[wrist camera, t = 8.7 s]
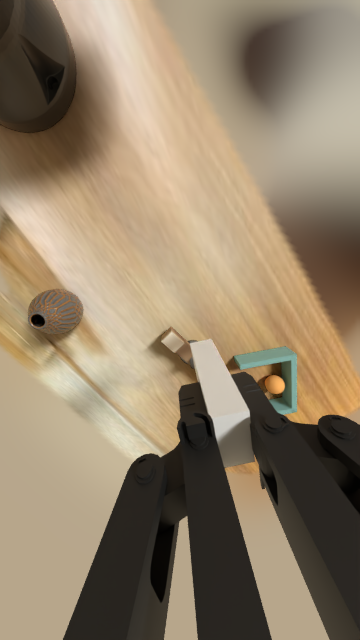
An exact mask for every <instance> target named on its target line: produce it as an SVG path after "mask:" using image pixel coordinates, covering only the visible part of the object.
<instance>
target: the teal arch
mask: <svg viewBox="0 0 360 640" xmlns="http://www.w3.org/2000/svg"><path fill="white" fill-rule="evenodd" d="M234 361H235V362H236V364H237V365H238V367H239V368H240V370H241V369H246V368H252V367H257V366H263V365H268V364H273V363H279V362H281V367H282V379H283V381H284V383H285V388H284V390H283V392H282V397H281V398H276V399H271V400H269V401H270V403H271V404H272V405H273V407H274V408H275V410H276V411H277V412H278V413H280V414H282V415H283V414H289V413H294V412H297V354H296V353H294V352H293V351H292V350H290V349H289V348H288V347H286V346H285V347H280V348H274V349H269V350H263V351H258V352H253V353H247V354H242V355H237V356H234Z"/></svg>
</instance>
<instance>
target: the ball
mask: <svg viewBox="0 0 360 640" xmlns="http://www.w3.org/2000/svg"><path fill="white" fill-rule="evenodd" d="M265 386H266V389H267V390H268V391H269V392H271V393H273V394H279V393H281V392H283V390H284V388H285V383H284V381H283V379H282V378H280V377H279V376H276V375H271V376H269V377H267V379H266V380H265Z"/></svg>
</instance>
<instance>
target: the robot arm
mask: <svg viewBox="0 0 360 640" xmlns="http://www.w3.org/2000/svg"><path fill="white" fill-rule="evenodd" d="M75 84H76V63H75V56H74V51H73V47H72V44H71V41H70V38H69V35H68V32H67V30H66V28H65V26H64V23H63V21H62V19H61V17H60V14H59V12H58V10H57V8H56V6H55V4H54V2H53V0H0V124H1V125H3V126H5V127H7V128H9V129H12V130H15V131H20V132H38V131H42V130H45V129H47V128H49V127H51V126H53V125H54V124H56V123H57V122H58V121H59V120H60V119H61V118H62V117H63V115H64V114H65V113H66V111H67V110H68V108H69V106H70V104H71V101H72V98H73V95H74V91H75ZM190 347H191V352H192V356H193V361H194V366H195V371H196V376H197V380H198V382H197V383H192V384H188V385H183V386H181V388H180V391H179V404H180V415H181V418H180V420H179V421H178V425H177V430H178V434H179V438H180V442H179V444H178V445H177V446H176V448H175V449H174V450H172V451H171V452H169V453H167V454H166V455H164V456H162V457H159V456H158V455H156V454H145V455H143V456H141V457H139V458H137V459H136V460H135V461H134V462H133V463H132V465H131V466H130V468H129V470H128V472H127V474H126V477H125V480H124V482H123V485H122V487H121V490H120V493H119V495H118V498H117V500H116V503H115V506H114V508H113V511H112V514H111V516H110V519H109V521H108V524H107V526H106V529H105V532H104V534H103V537H102V539H101V542H100V545H99V547H98V550H97V552H96V555H95V558H94V560H93V563H92V565H91V568H90V571H89V573H88V576H87V578H86V581H85V584H84V587H83V589H82V591H81V594H80V597H79V599H78V602H77V605H76V607H75V610H74V612H73V615H72V617H71V620H70V623H69V625H68V628H67V630H66V633H65V636H64V638H63V640H164V634H165V626H166V619H167V611H168V603H169V596H170V588H171V580H172V573H173V565H174V558H175V549H176V542H177V535H178V527H179V521H180V520H181V519H183V518H184V517H186V516H188V528H189V540H190V552H191V563H192V575H193V587H194V598H195V610H196V621H197V634H198V640H272V639H271V635H270V631H269V628H268V624H267V620H266V617H265V613H264V610H263V606H262V603H261V599H260V595H259V591H258V588H257V584H256V581H255V577H254V573H253V570H252V566H251V562H250V559H249V556H248V552H247V548H246V544H245V541H244V537H243V533H242V530H241V526H240V523H239V519H238V515H237V512H236V508H235V504H234V501H233V497H232V494H231V490H230V486H229V483H228V480H227V475H226V472H225V468H226V467H231V466H236V465H240V464H245V463H250V462H255V459H254V455H255V457H256V459H257V462H258V464H259V472H260V482H261V486H262V489H265V488H266V490H267V492H268V495H269V497H270V499H271V501H272V503H273V506H274V509H275V511H276V514H277V516H278V518H279V521H280V523H281V525H282V528H283V530H284V532H285V535H286V537H287V540H288V542H289V544H290V547H291V548H292V551H293V553H294V556H295V559H296V561H297V563H298V566H299V568H300V570H301V573H302V575H303V577H304V580H305V582H306V585H307V587H308V589H309V592H310V594H311V596H312V599H313V601H314V603H315V606H316V608H317V611H318V613H319V615H320V617H321V620H322V622H323V625H324V627H325V630H326V632H327V634H328V637H329V639H330V640H360V425H359V424H357V423H356V422H354V421H352V420H350V419H348V418H346V417H342V416H339V415H326V416H322V417H321V418H320V419H319V421H318V425H313V424H301V423H295V422H292V421H290V420H289V419H288V418H287V417H286V416H284V415H282V414H280V413H278V412H277V411H276V410H275V408H274V407H273V405H272V404H271V403H270V401H269V400H268V398H267V397H266V395H265V394H264V393H263V391H262V390H261V388H260V387H259V385H258V384H257V383H256V381H255V380H254V378H253V377H252V376H251V375H249V374H247V373H246V372H241V373H237V374H232V375H230V373H229V371H228V369H227V367H226V365H225V364H224V362H223V360H222V358H221V356H220V354H219V352H218V350H217V348H216V347H215V345H214V343H213V341H212V339H208V340H203V341H198V342H194V343H190Z"/></svg>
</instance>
